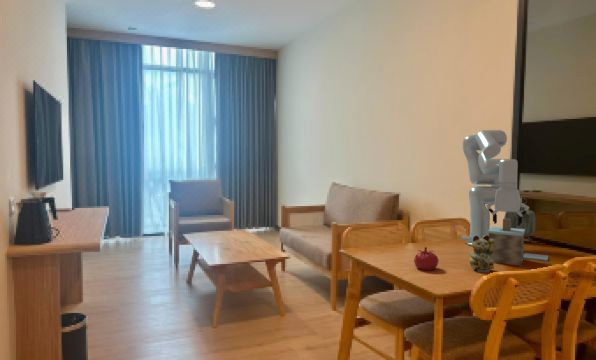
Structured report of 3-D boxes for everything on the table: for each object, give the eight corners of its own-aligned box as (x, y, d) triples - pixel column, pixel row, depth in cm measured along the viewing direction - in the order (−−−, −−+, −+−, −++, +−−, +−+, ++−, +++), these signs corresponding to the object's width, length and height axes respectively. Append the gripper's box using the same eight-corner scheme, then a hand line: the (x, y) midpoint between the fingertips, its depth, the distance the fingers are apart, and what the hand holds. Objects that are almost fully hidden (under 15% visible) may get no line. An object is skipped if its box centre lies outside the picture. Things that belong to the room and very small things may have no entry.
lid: (488, 233, 185) (488, 219, 185) (492, 228, 196) (492, 216, 196) (522, 236, 178) (522, 222, 177) (524, 231, 189) (525, 218, 189)
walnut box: (488, 261, 186) (488, 233, 185) (492, 255, 197) (493, 228, 196) (520, 265, 179) (521, 235, 178) (523, 259, 190) (524, 231, 189)
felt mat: (522, 258, 192) (522, 257, 192) (524, 254, 200) (524, 252, 200) (547, 261, 186) (547, 259, 186) (548, 256, 195) (548, 255, 195)
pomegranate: (443, 269, 173) (444, 248, 173) (427, 273, 168) (428, 250, 167) (424, 264, 182) (425, 243, 181) (408, 267, 176) (409, 245, 176)
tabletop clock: (535, 241, 229) (536, 197, 228) (531, 244, 223) (532, 198, 221) (507, 238, 239) (508, 195, 238) (502, 241, 232) (503, 196, 231)
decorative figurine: (473, 272, 168) (474, 236, 167) (465, 267, 176) (465, 232, 176) (497, 272, 168) (498, 236, 167) (487, 267, 176) (488, 232, 176)
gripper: (485, 186, 187) (485, 223, 188) (529, 187, 178) (528, 226, 179) (488, 185, 194) (487, 221, 194) (530, 186, 184) (529, 224, 185)
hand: (507, 224), depth 187 cm, fingers open, 9 cm apart
